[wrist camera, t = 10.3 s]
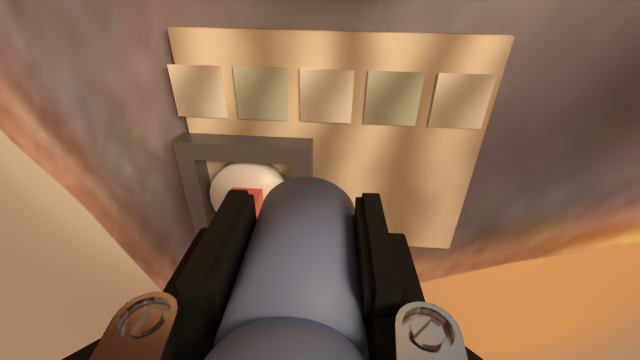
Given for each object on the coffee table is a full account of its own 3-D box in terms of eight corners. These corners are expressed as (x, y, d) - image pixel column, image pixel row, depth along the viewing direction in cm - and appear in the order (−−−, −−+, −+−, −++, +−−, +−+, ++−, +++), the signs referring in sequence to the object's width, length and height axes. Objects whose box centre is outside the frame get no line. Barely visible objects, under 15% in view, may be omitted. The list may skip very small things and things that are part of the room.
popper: (289, 159, 26) (281, 184, 23) (292, 224, 30) (284, 253, 26) (209, 155, 27) (189, 179, 23) (221, 219, 30) (205, 248, 27)
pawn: (370, 177, 10) (445, 581, 3) (353, 260, 12) (377, 621, 5) (254, 166, 10) (72, 549, 3) (256, 251, 12) (148, 602, 5)
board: (509, 35, 21) (516, 36, 20) (446, 243, 31) (449, 250, 30) (165, 26, 23) (158, 27, 22) (208, 228, 32) (205, 234, 31)
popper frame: (313, 138, 25) (310, 148, 24) (312, 240, 31) (310, 254, 29) (183, 132, 26) (171, 141, 24) (205, 233, 32) (197, 246, 30)
